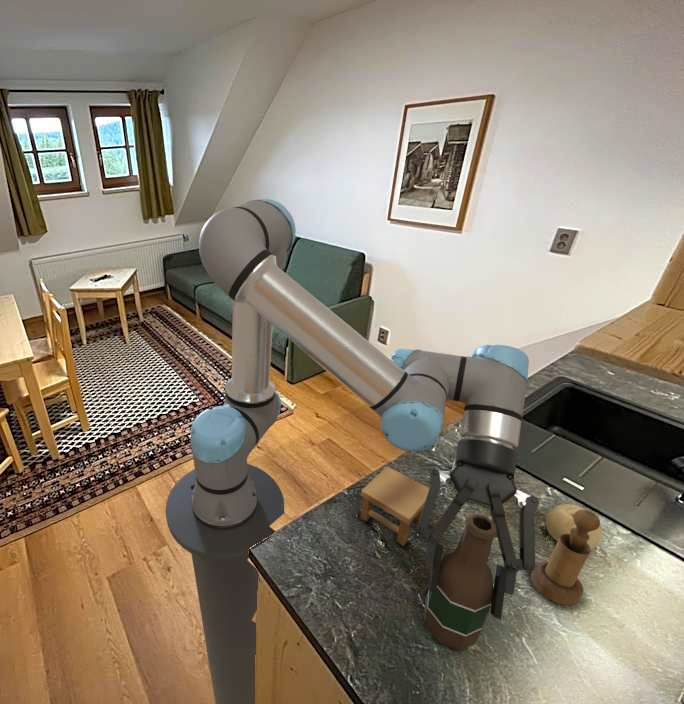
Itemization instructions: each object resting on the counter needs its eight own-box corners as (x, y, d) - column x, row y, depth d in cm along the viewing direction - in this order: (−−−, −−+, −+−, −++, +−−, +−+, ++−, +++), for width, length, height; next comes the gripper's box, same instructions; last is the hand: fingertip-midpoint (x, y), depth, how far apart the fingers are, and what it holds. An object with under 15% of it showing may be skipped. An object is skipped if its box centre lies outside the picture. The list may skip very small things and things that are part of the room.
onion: (609, 560, 72) (603, 539, 69) (553, 554, 77) (544, 534, 74) (600, 519, 77) (593, 498, 74) (547, 515, 82) (538, 496, 79)
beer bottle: (412, 624, 65) (439, 522, 54) (434, 592, 69) (463, 491, 58) (464, 665, 59) (505, 560, 48) (484, 627, 64) (526, 523, 53)
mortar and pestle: (572, 577, 70) (610, 504, 62) (584, 612, 65) (627, 537, 57) (526, 564, 73) (556, 492, 65) (534, 597, 68) (568, 523, 60)
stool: (358, 518, 85) (361, 490, 81) (382, 492, 90) (386, 465, 87) (404, 548, 78) (409, 519, 74) (427, 518, 83) (434, 490, 80)
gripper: (561, 465, 60) (542, 630, 55) (415, 430, 69) (387, 569, 64) (581, 461, 53) (561, 647, 48) (416, 423, 63) (386, 576, 58)
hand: (462, 602), depth 56 cm, fingers closed on beer bottle, 7 cm apart
